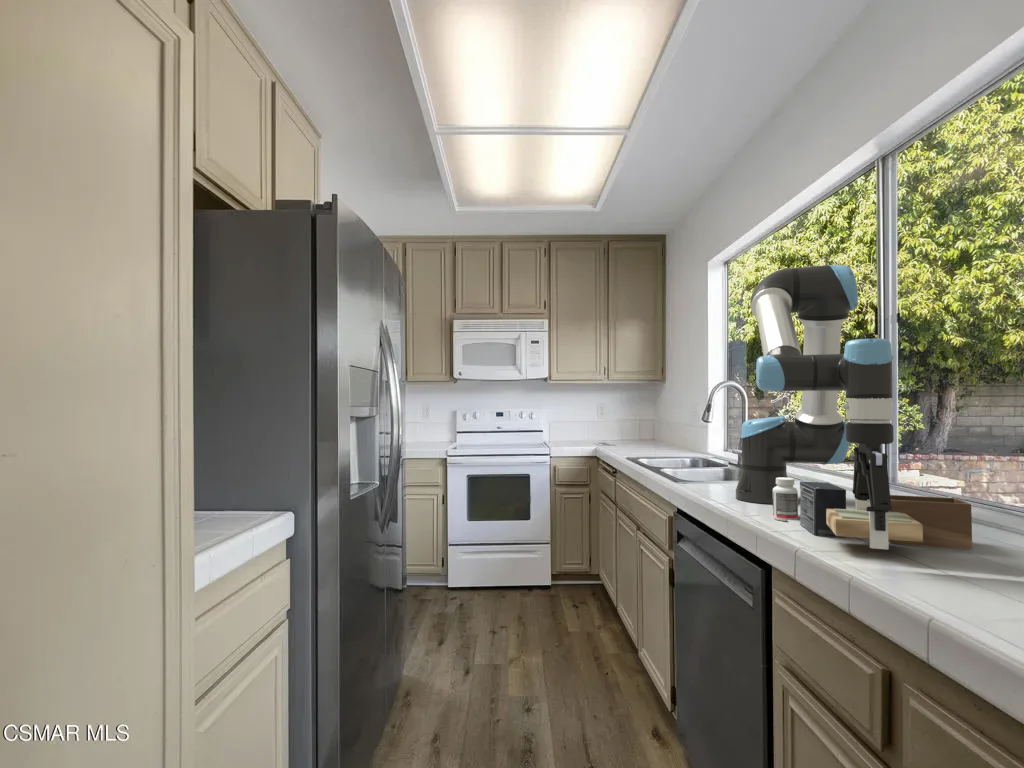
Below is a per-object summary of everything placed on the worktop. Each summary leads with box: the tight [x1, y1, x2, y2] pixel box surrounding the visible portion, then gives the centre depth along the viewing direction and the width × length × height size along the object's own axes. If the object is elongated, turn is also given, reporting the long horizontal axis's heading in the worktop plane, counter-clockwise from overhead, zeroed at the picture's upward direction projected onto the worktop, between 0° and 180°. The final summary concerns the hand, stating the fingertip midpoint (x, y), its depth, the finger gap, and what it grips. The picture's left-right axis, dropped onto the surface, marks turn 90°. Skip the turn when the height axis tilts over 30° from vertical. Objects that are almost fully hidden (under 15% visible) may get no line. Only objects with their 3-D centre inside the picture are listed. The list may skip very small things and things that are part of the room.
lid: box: [826, 508, 923, 542], centre depth 105 cm, size 10×13×3 cm
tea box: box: [888, 494, 973, 550], centre depth 111 cm, size 7×13×9 cm, turn 69°
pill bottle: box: [772, 477, 799, 522], centre depth 135 cm, size 5×5×10 cm
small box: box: [799, 480, 847, 538], centre depth 121 cm, size 11×6×10 cm, turn 168°
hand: (871, 540), depth 105 cm, fingers closed on lid, 10 cm apart
